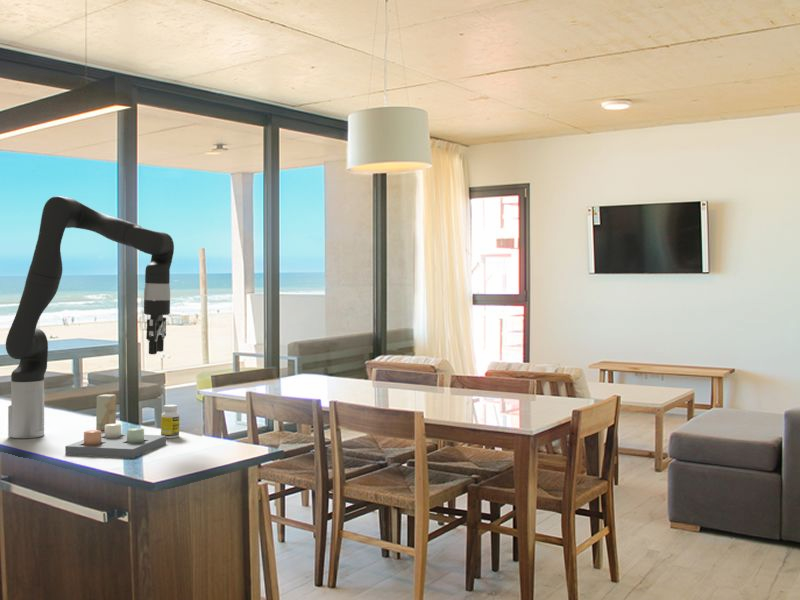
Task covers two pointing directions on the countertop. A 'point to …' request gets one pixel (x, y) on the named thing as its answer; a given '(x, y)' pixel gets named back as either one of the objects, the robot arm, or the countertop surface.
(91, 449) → the panel
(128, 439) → the sage button
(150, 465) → the countertop surface
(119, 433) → the cream piece
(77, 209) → the robot arm
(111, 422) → the box
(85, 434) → the terracotta button
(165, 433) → the supplement bottle
